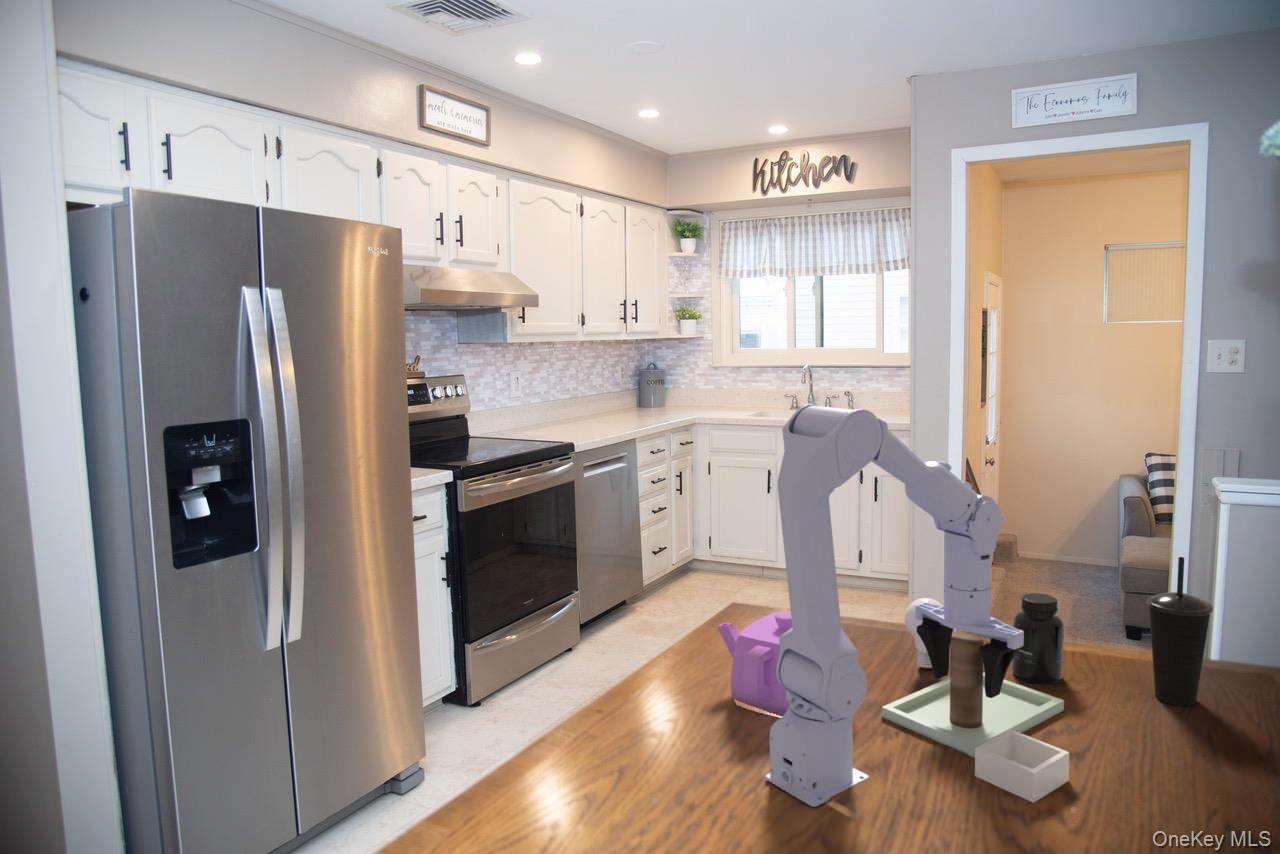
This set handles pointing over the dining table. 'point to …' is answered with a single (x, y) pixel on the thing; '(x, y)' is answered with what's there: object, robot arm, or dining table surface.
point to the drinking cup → (1178, 642)
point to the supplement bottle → (1039, 640)
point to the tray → (999, 714)
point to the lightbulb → (912, 627)
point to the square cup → (1022, 765)
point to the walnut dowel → (966, 681)
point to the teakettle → (758, 662)
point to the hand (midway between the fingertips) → (966, 685)
